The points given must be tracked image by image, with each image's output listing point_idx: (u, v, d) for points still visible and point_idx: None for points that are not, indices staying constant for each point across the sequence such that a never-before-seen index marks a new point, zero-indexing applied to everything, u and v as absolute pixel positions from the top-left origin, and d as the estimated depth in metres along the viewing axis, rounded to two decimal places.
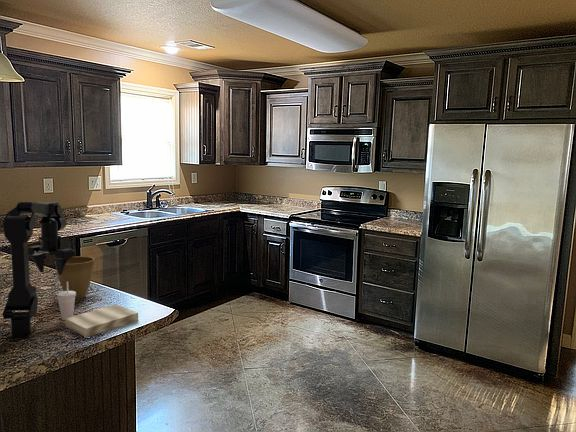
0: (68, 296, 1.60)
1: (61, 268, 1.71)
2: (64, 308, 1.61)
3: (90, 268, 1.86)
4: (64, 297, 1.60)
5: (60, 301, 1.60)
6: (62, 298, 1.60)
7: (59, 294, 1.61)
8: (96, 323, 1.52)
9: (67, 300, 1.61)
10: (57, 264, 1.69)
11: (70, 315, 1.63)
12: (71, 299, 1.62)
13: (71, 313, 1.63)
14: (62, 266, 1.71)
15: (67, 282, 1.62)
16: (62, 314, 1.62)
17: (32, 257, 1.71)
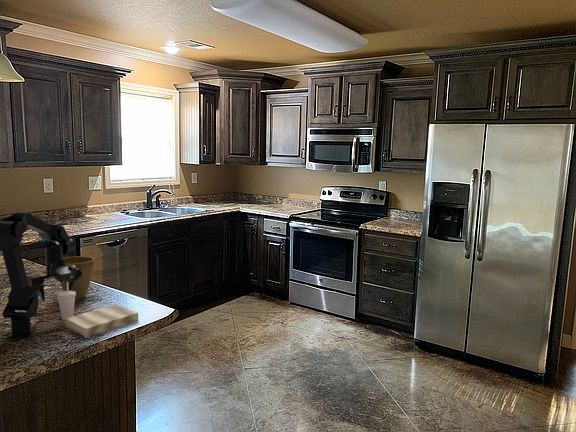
0: (68, 296, 1.60)
1: (40, 294, 1.63)
2: (64, 308, 1.61)
3: (90, 268, 1.86)
4: (64, 297, 1.60)
5: (60, 301, 1.60)
6: (62, 298, 1.60)
7: (59, 294, 1.61)
8: (96, 323, 1.52)
9: (67, 300, 1.61)
10: None
11: (70, 315, 1.63)
12: (71, 299, 1.62)
13: (71, 313, 1.63)
14: (40, 293, 1.63)
15: (67, 282, 1.62)
16: (62, 314, 1.62)
17: None
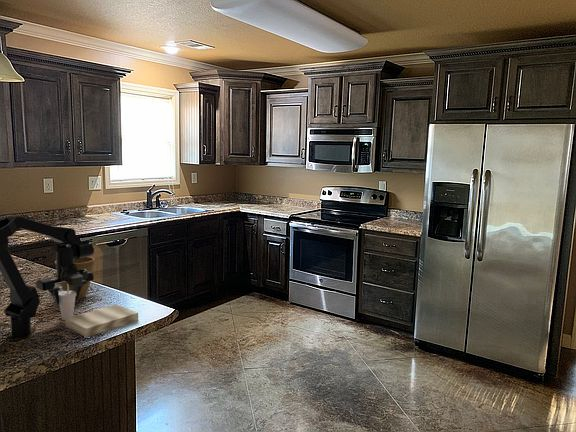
0: (68, 296, 1.60)
1: (54, 298, 1.60)
2: (64, 308, 1.61)
3: (90, 268, 1.86)
4: (64, 297, 1.60)
5: (60, 301, 1.61)
6: (62, 298, 1.60)
7: (59, 294, 1.61)
8: (96, 323, 1.52)
9: (67, 300, 1.61)
10: None
11: (70, 315, 1.63)
12: (71, 299, 1.62)
13: (71, 313, 1.63)
14: (54, 297, 1.59)
15: None
16: (62, 314, 1.62)
17: None
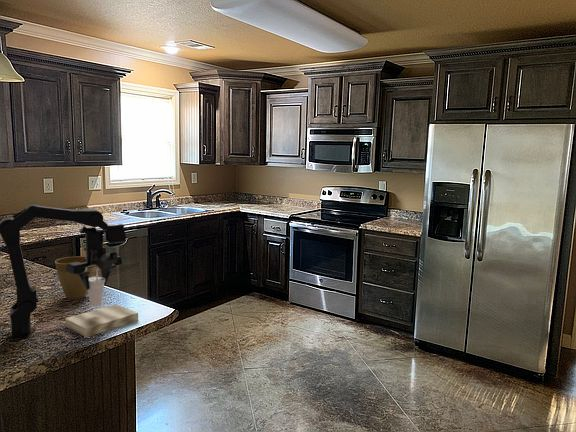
0: (98, 282, 1.56)
1: (84, 282, 1.56)
2: (93, 294, 1.57)
3: (90, 268, 1.86)
4: (94, 283, 1.56)
5: (89, 287, 1.57)
6: (92, 284, 1.56)
7: None
8: (96, 323, 1.52)
9: (97, 286, 1.57)
10: None
11: (99, 302, 1.59)
12: (101, 285, 1.58)
13: (100, 300, 1.59)
14: (84, 281, 1.55)
15: (97, 268, 1.58)
16: (91, 300, 1.58)
17: None
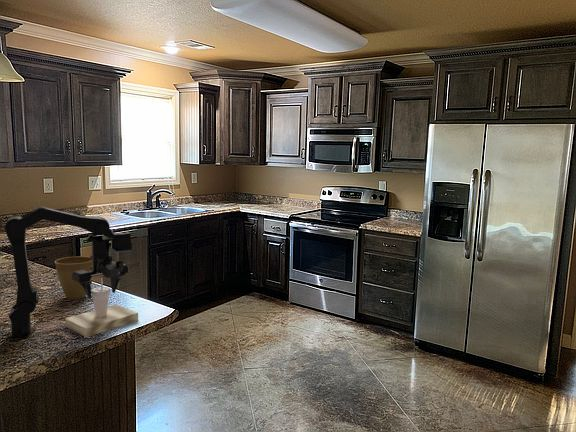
0: (103, 292, 1.56)
1: (86, 291, 1.54)
2: (98, 305, 1.57)
3: (90, 268, 1.86)
4: (99, 293, 1.56)
5: (94, 297, 1.56)
6: (97, 294, 1.56)
7: (93, 290, 1.57)
8: (96, 323, 1.52)
9: (102, 296, 1.56)
10: None
11: (104, 312, 1.58)
12: (105, 295, 1.57)
13: (105, 310, 1.59)
14: (86, 290, 1.54)
15: (101, 278, 1.58)
16: (96, 311, 1.57)
17: None
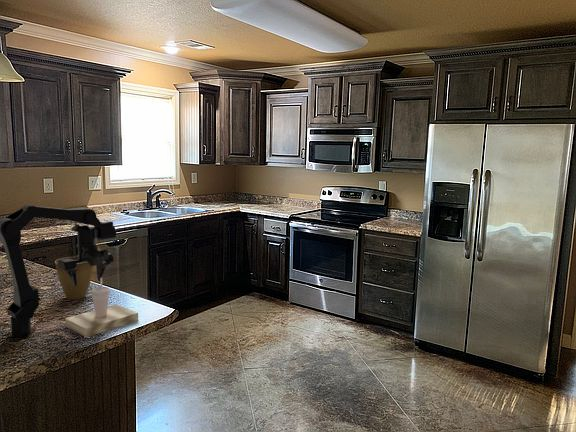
0: (102, 293, 1.56)
1: (72, 279, 1.59)
2: (98, 305, 1.57)
3: (90, 268, 1.86)
4: (98, 294, 1.55)
5: (94, 298, 1.56)
6: (96, 295, 1.56)
7: (93, 291, 1.57)
8: (96, 323, 1.52)
9: (101, 297, 1.56)
10: None
11: (104, 312, 1.58)
12: (105, 296, 1.57)
13: (105, 310, 1.59)
14: (72, 278, 1.59)
15: (101, 278, 1.57)
16: (96, 311, 1.57)
17: None
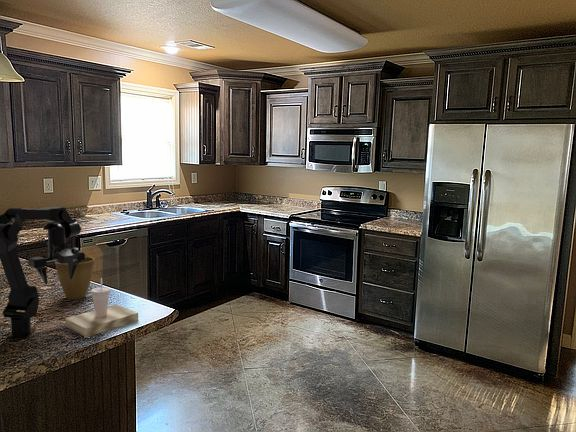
0: (102, 292, 1.56)
1: (42, 277, 1.61)
2: (98, 305, 1.57)
3: (90, 268, 1.86)
4: (98, 293, 1.55)
5: (94, 298, 1.56)
6: (96, 295, 1.56)
7: (93, 290, 1.57)
8: (96, 323, 1.52)
9: (101, 297, 1.56)
10: None
11: (104, 312, 1.58)
12: (105, 296, 1.57)
13: (105, 310, 1.59)
14: (42, 275, 1.60)
15: (101, 278, 1.57)
16: (96, 311, 1.57)
17: None
